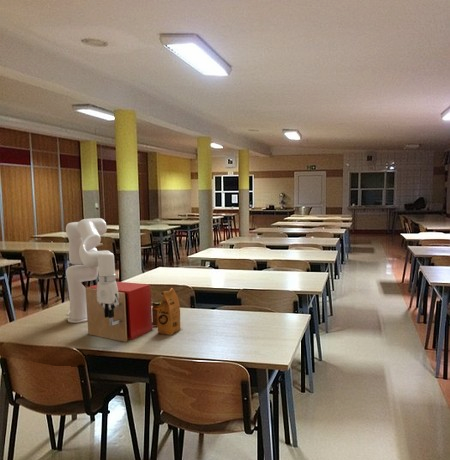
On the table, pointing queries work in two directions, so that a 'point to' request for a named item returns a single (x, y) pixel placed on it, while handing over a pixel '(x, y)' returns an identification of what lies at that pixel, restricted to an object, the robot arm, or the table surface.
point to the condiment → (155, 313)
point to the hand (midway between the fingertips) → (109, 316)
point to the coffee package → (169, 313)
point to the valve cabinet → (136, 307)
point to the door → (106, 326)
